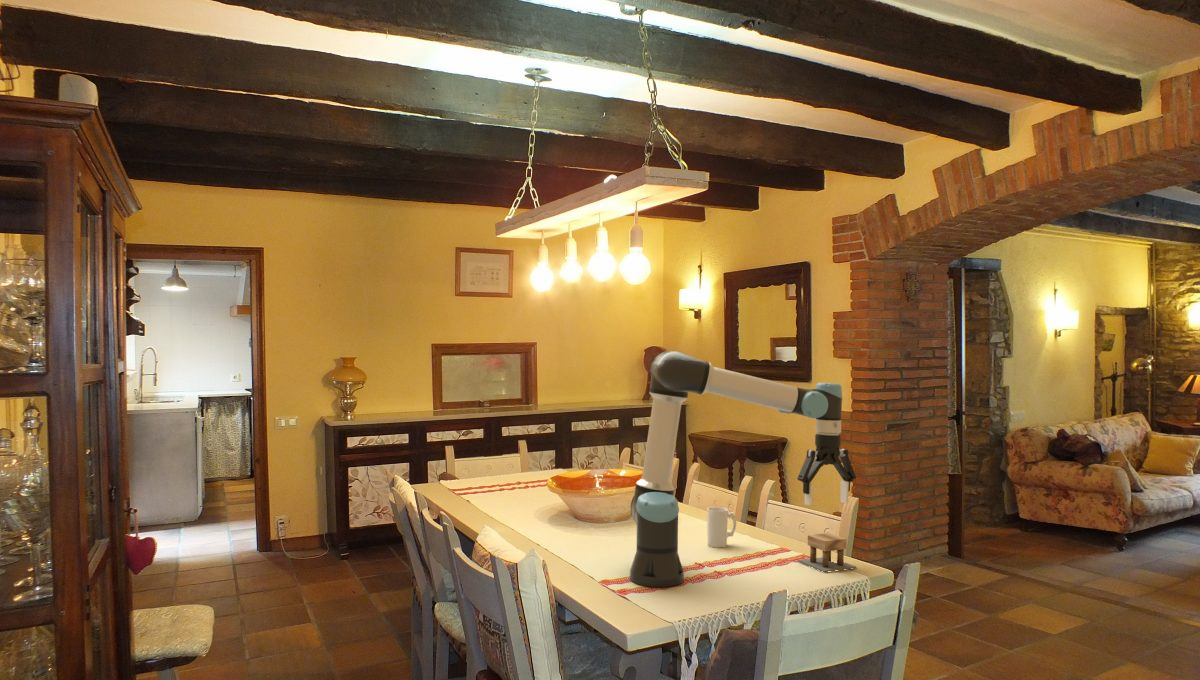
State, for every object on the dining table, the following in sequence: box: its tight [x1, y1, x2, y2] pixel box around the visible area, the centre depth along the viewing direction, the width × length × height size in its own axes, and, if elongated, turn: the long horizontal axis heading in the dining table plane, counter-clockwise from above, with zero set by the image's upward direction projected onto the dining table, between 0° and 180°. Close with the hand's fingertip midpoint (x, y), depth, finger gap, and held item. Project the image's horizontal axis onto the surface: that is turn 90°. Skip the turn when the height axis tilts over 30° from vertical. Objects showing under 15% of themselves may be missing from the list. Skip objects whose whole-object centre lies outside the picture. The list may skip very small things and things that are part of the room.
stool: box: [807, 532, 847, 568], centre depth 231 cm, size 8×8×8 cm
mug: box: [706, 506, 737, 549], centre depth 253 cm, size 10×7×12 cm, turn 101°
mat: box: [797, 557, 857, 573], centre depth 230 cm, size 12×12×1 cm
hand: (826, 503), depth 231 cm, fingers open, 13 cm apart
